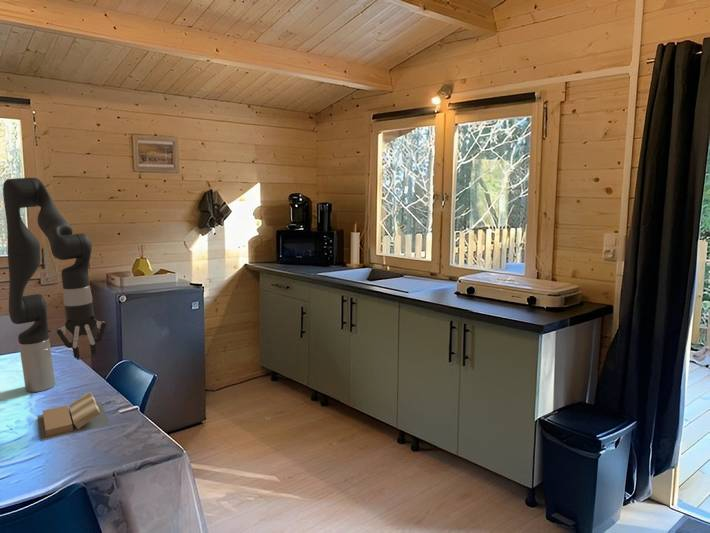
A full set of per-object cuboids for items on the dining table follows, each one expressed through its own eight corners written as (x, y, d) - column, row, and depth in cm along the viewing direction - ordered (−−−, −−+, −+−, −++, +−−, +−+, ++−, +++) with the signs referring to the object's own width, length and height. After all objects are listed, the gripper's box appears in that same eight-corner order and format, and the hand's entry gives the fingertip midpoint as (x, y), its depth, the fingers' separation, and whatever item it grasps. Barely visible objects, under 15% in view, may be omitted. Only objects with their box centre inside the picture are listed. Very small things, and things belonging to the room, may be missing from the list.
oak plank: (72, 409, 175) (68, 405, 174) (93, 396, 178) (90, 391, 177) (77, 429, 161) (73, 423, 161) (100, 413, 164) (96, 408, 163)
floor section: (37, 417, 172) (36, 409, 171) (101, 403, 181) (100, 395, 180) (41, 443, 155) (39, 434, 154) (110, 426, 164) (109, 417, 164)
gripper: (102, 296, 171) (108, 349, 174) (50, 303, 164) (57, 359, 167) (106, 300, 165) (112, 356, 168) (52, 308, 158) (59, 366, 161)
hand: (85, 357), depth 167 cm, fingers open, 3 cm apart
